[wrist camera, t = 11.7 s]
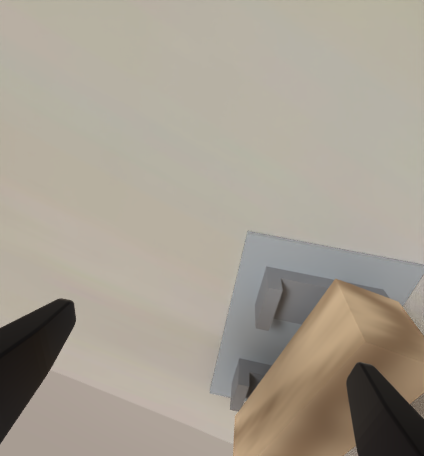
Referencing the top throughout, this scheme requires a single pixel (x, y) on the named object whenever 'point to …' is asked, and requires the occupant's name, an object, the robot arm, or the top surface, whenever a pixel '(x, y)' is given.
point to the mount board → (290, 302)
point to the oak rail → (329, 375)
